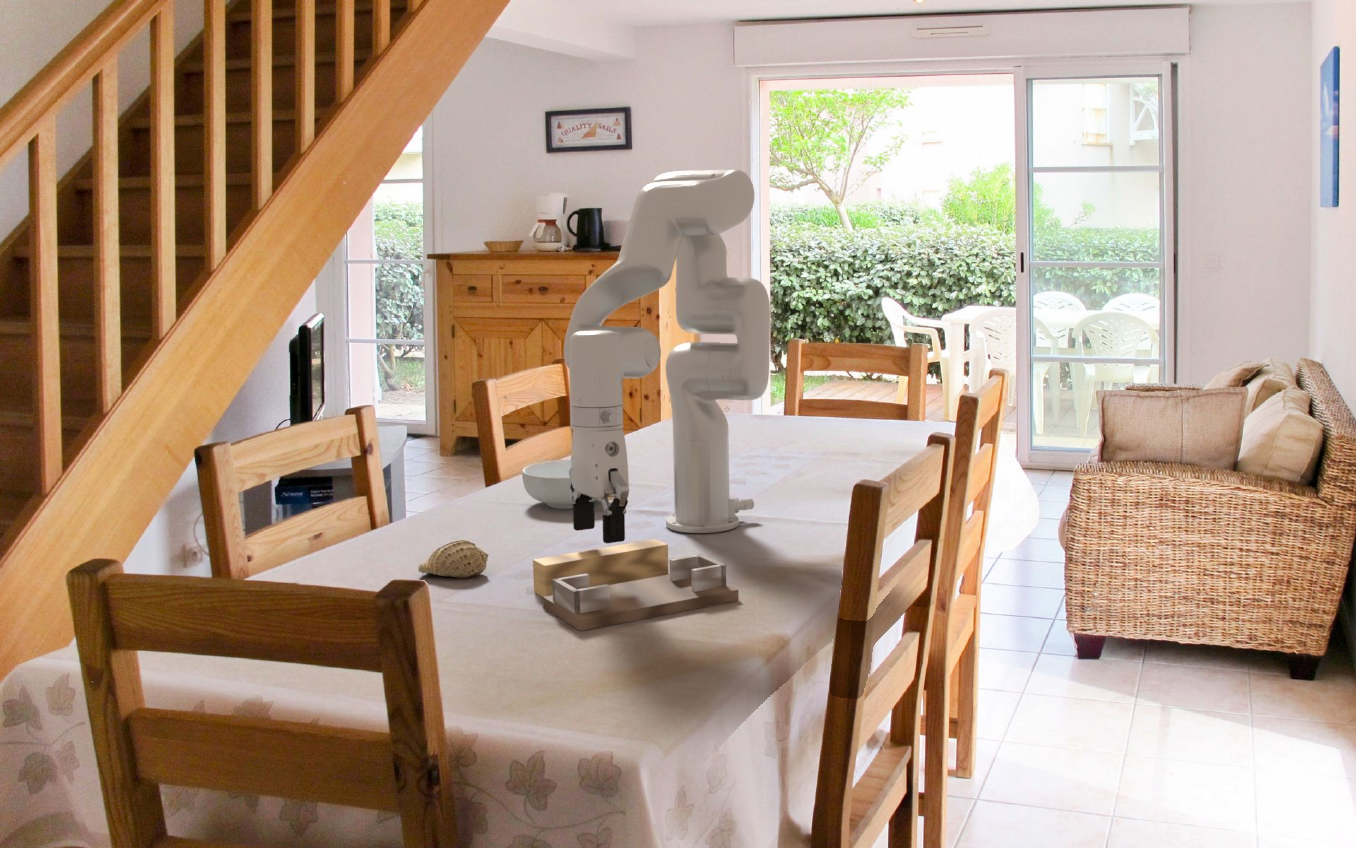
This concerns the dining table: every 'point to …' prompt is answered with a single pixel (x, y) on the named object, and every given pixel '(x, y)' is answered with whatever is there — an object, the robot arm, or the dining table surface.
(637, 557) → the slat
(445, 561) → the seashell
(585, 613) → the endcap base
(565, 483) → the cereal bowl
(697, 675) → the dining table surface
